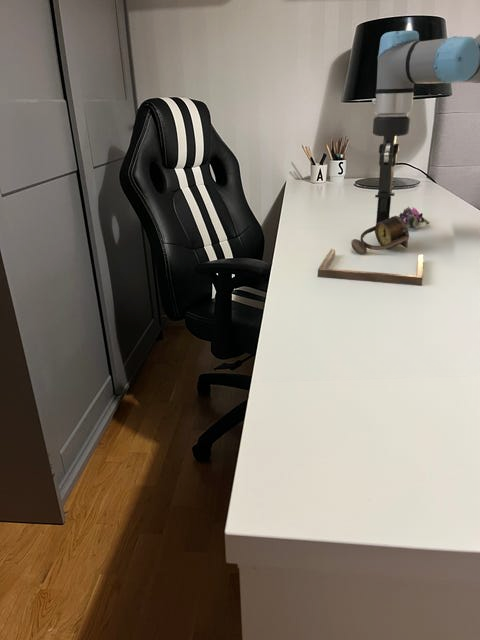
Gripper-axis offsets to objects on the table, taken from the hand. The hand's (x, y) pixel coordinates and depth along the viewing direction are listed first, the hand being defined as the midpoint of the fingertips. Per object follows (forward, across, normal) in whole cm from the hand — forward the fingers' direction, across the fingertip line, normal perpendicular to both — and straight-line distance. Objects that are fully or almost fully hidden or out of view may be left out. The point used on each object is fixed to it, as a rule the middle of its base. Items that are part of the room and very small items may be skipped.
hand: (382, 225), depth 116 cm
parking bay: (+4, +20, 0) cm, 20 cm away
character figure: (+4, -19, +6) cm, 21 cm away
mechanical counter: (+4, +6, 0) cm, 7 cm away
